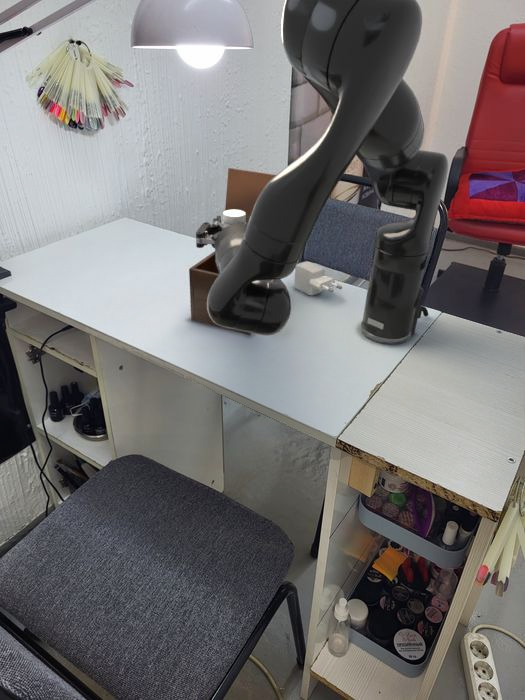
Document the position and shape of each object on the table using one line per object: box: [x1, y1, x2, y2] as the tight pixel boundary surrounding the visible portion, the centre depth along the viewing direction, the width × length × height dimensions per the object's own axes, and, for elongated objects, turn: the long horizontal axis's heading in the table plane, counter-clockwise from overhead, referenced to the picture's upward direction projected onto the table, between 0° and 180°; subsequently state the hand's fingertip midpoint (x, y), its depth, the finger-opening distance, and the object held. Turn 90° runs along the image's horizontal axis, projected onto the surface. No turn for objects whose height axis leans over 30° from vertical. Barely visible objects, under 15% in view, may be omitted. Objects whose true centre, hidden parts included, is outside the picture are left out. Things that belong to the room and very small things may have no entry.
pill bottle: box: [222, 209, 246, 226], centre depth 93 cm, size 5×5×8 cm
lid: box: [224, 167, 277, 223], centre depth 101 cm, size 14×13×1 cm
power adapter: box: [294, 260, 343, 296], centre depth 111 cm, size 11×5×6 cm, turn 40°
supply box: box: [188, 250, 252, 336], centre depth 102 cm, size 14×13×11 cm
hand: (233, 221), depth 95 cm, fingers closed on pill bottle, 4 cm apart
